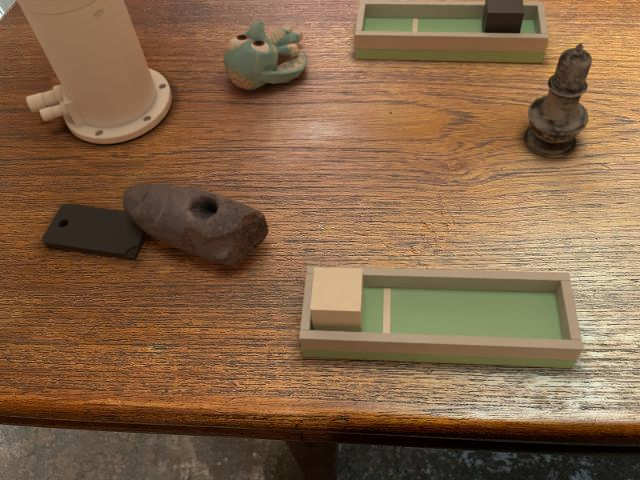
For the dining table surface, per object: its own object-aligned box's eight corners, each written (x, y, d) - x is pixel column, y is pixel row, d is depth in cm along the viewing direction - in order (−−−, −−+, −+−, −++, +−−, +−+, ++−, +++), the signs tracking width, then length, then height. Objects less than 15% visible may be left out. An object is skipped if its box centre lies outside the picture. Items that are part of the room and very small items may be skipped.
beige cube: (314, 333, 51) (309, 309, 48) (317, 292, 54) (314, 267, 50) (361, 334, 51) (360, 311, 48) (363, 293, 53) (362, 268, 50)
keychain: (132, 255, 58) (39, 241, 60) (135, 259, 59) (42, 245, 61) (152, 214, 61) (62, 202, 63) (154, 219, 62) (65, 207, 64)
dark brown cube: (482, 42, 72) (487, 12, 69) (481, 22, 74) (486, -8, 71) (517, 43, 72) (524, 13, 68) (515, 22, 74) (522, -8, 71)
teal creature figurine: (332, 10, 71) (270, 52, 64) (330, 66, 76) (272, 110, 69) (258, -13, 75) (192, 24, 68) (261, 42, 80) (200, 81, 73)
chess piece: (580, 162, 62) (618, 66, 52) (520, 157, 63) (546, 62, 54) (577, 122, 66) (613, 25, 56) (521, 118, 67) (546, 21, 57)
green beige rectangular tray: (355, 59, 74) (354, 34, 72) (360, 24, 78) (359, -1, 76) (542, 63, 72) (549, 37, 69) (537, 26, 76) (543, 1, 73)
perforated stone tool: (118, 236, 60) (93, 191, 55) (148, 198, 63) (127, 151, 57) (251, 287, 56) (239, 244, 51) (277, 244, 59) (268, 199, 53)
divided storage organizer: (302, 357, 52) (298, 338, 49) (310, 286, 56) (306, 265, 53) (571, 368, 50) (583, 349, 47) (558, 293, 54) (569, 272, 51)
